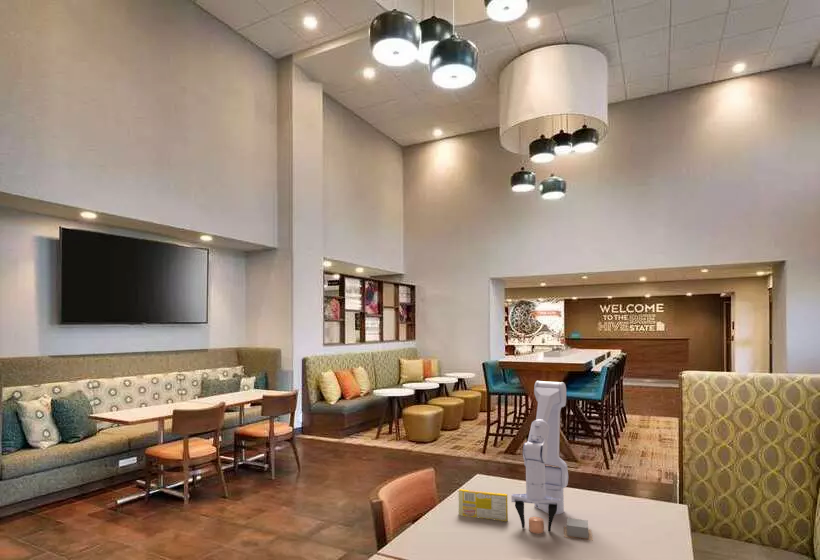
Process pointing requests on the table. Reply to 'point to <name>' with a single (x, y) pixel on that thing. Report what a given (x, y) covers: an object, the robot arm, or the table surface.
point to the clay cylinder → (536, 525)
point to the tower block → (577, 528)
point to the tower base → (578, 537)
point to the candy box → (483, 504)
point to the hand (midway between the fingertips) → (536, 528)
